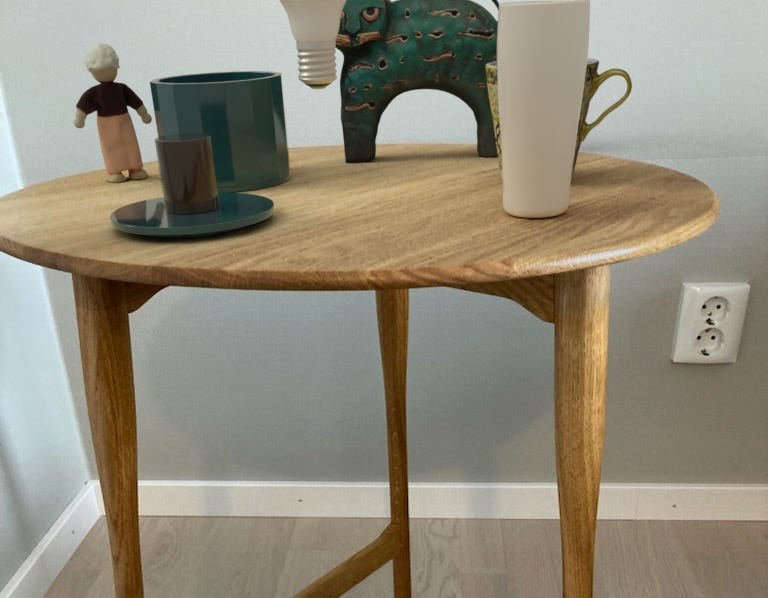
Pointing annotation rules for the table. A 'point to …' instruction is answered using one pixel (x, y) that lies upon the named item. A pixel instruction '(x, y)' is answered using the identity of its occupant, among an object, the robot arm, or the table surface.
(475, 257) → the table surface
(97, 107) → the grandmother figurine
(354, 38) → the ceramic cat
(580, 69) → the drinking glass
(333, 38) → the lightbulb
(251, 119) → the tin
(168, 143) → the lid
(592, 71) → the ceramic cup
